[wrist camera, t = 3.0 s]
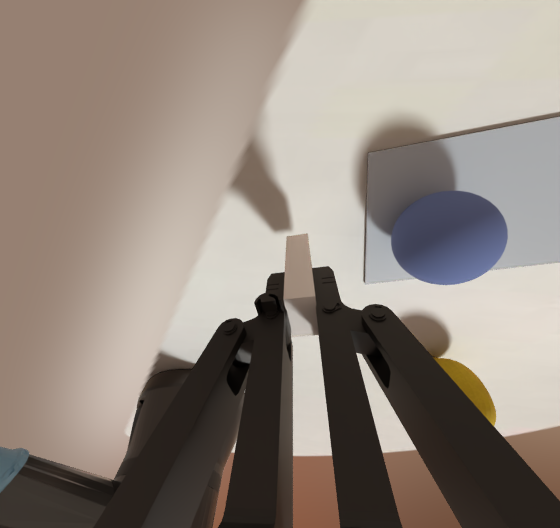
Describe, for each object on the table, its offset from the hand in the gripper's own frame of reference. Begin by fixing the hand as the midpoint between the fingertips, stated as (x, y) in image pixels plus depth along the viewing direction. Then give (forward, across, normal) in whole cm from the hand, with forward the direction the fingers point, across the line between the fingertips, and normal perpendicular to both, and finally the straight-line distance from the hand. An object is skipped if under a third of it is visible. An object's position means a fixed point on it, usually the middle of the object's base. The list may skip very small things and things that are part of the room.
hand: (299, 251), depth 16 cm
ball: (-1, -9, 0) cm, 9 cm away
